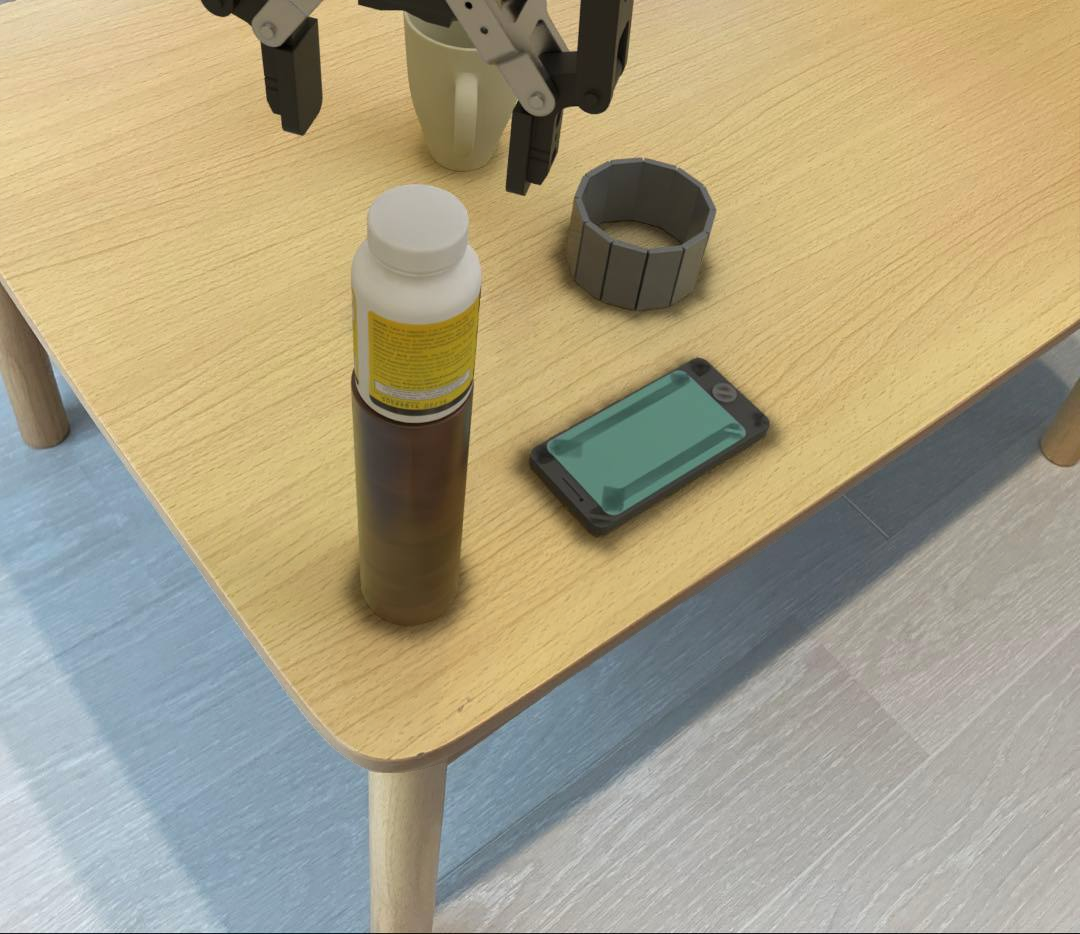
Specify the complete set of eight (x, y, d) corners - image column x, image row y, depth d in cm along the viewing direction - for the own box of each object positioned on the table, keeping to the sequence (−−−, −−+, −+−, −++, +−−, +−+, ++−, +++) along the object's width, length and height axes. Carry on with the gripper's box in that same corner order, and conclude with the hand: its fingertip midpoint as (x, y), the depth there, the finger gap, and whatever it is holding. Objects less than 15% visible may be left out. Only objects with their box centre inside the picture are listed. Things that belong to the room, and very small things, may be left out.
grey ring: (710, 236, 88) (726, 178, 84) (683, 324, 83) (699, 267, 78) (586, 203, 89) (595, 144, 85) (551, 288, 84) (560, 229, 79)
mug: (369, 145, 91) (366, 4, 81) (469, 100, 95) (477, -38, 86) (457, 224, 87) (465, 85, 77) (558, 174, 91) (577, 37, 81)
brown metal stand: (470, 558, 70) (489, 353, 55) (439, 637, 66) (451, 442, 52) (381, 531, 70) (377, 321, 56) (346, 608, 67) (331, 407, 52)
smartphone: (775, 421, 77) (599, 529, 70) (770, 433, 78) (596, 540, 71) (699, 350, 80) (524, 447, 73) (695, 362, 81) (522, 459, 74)
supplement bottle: (496, 397, 54) (513, 236, 46) (392, 445, 51) (391, 284, 44) (434, 321, 56) (440, 156, 48) (333, 363, 54) (321, 197, 46)
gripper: (90, -365, 29) (186, 164, 42) (651, -236, 28) (571, 268, 41) (223, -454, 33) (273, 48, 46) (712, -347, 32) (622, 139, 45)
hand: (412, 151), depth 43 cm, fingers open, 8 cm apart
